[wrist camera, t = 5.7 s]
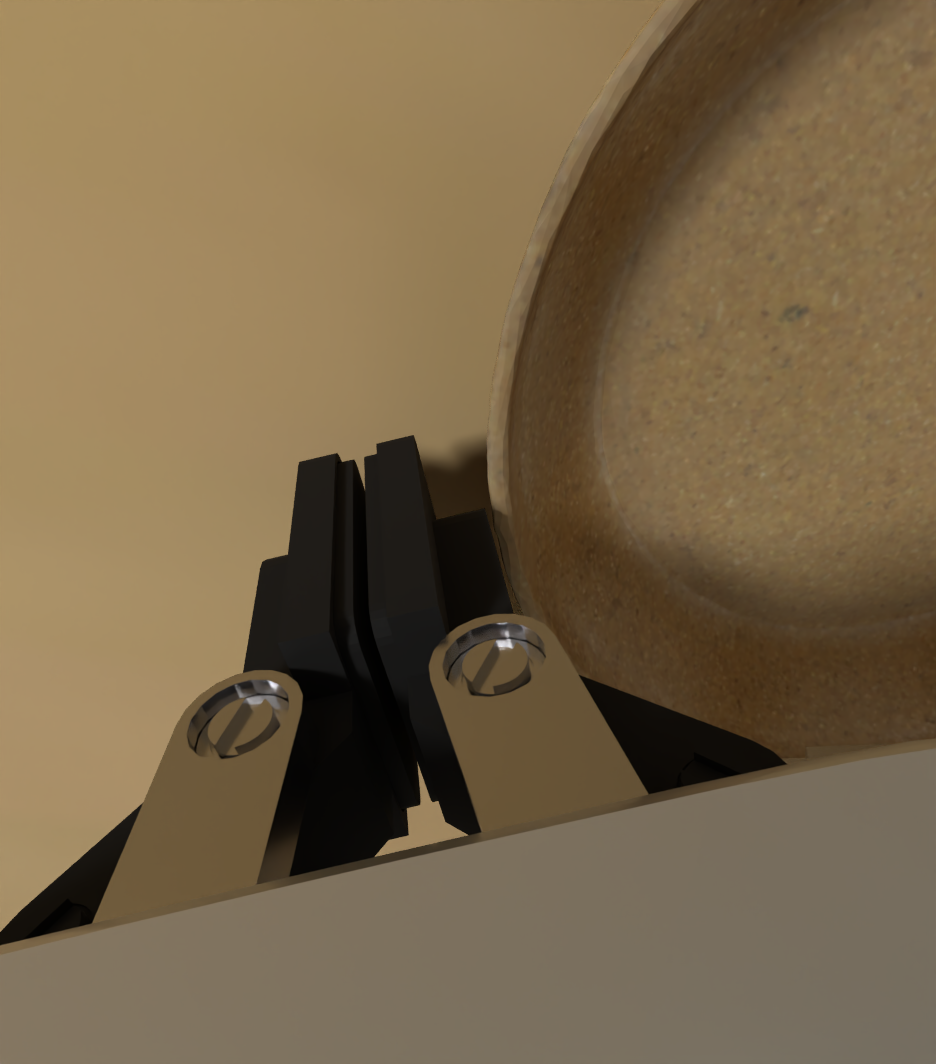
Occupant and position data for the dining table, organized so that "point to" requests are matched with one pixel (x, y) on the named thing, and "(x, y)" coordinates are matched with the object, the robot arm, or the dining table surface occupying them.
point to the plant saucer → (737, 376)
